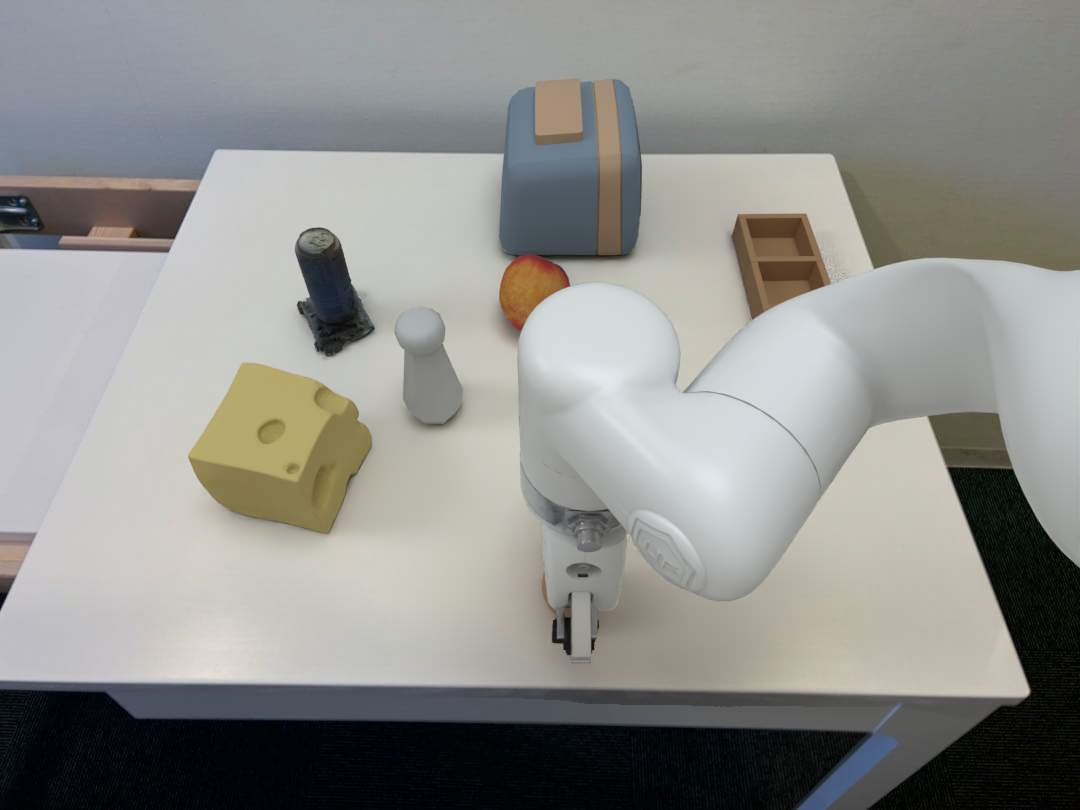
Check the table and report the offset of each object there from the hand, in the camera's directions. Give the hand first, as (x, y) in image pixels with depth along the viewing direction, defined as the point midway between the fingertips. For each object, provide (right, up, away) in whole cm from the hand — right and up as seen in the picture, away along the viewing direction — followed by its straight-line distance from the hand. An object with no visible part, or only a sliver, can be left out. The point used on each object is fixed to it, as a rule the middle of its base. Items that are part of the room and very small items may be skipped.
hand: (571, 577), depth 55 cm
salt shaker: (-13, +13, +16) cm, 24 cm away
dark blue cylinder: (-25, +23, +23) cm, 41 cm away
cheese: (-25, +6, +11) cm, 28 cm away
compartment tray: (+25, +25, +24) cm, 42 cm away
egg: (0, -3, +4) cm, 5 cm away
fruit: (-3, +23, +23) cm, 32 cm away
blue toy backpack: (+1, +37, +32) cm, 49 cm away
